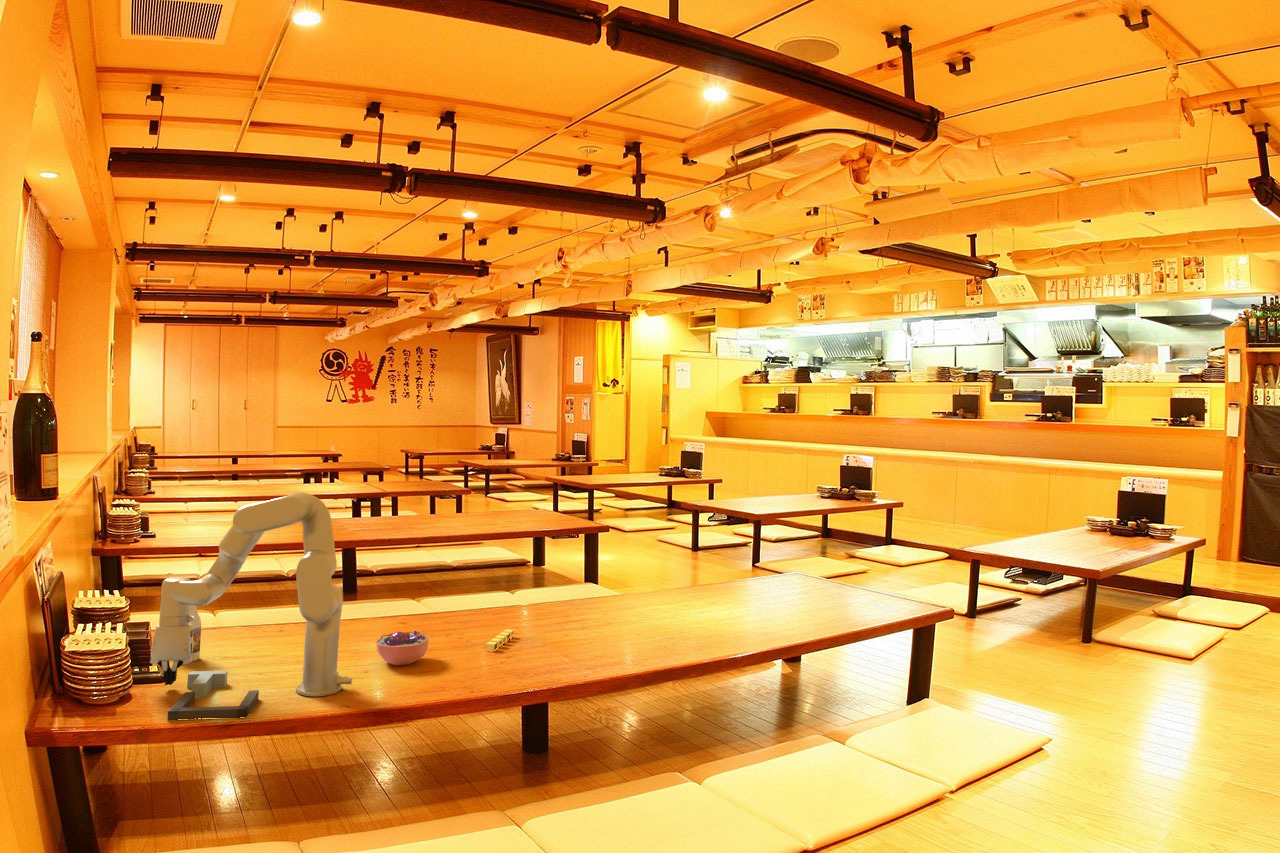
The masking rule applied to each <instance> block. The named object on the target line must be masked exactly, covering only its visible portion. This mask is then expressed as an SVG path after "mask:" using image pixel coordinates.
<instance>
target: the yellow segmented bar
mask: <svg viewBox="0 0 1280 853" xmlns="http://www.w3.org/2000/svg"><path fill="white" fill-rule="evenodd" d="M513 633H514V634H515V630H514V629H507V628H505V629H504V630H503V631H501V632H500V633H499V634H497V635H495V637H494V638H491V639H490V641H487V642H486V643H485V650H486V649H487V650H495V649H496V648H497V646H499V645H500V644H502V642H504V641H505V640H506V639H508V638H509V637H510V635H512V634H513Z"/></svg>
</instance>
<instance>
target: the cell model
mask: <svg viewBox="0 0 1280 853" xmlns="http://www.w3.org/2000/svg"><path fill="white" fill-rule="evenodd" d="M429 639H430V638H429V636H428V635H427V634H426V633H421V632H419V631H416V630H415V631H413V632H412V631H411V632H410V631H409V632H403V631H398V630H397V631H395V632H391V633H386V634H382V635H380V636H379V638H378V639H377V640H376V641H375V645H376V650H377V651H376V652H377V653H378V655H379V656H380V657H381V658H382V659H383V661H385V662H387V663H388V664H390V665H392V666H406V665H410V664H413V663H415V662H417V661H418V660H420V659H421V658H423V657H424V656H425V654H426V653H427V651H428V647H429Z"/></svg>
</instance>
